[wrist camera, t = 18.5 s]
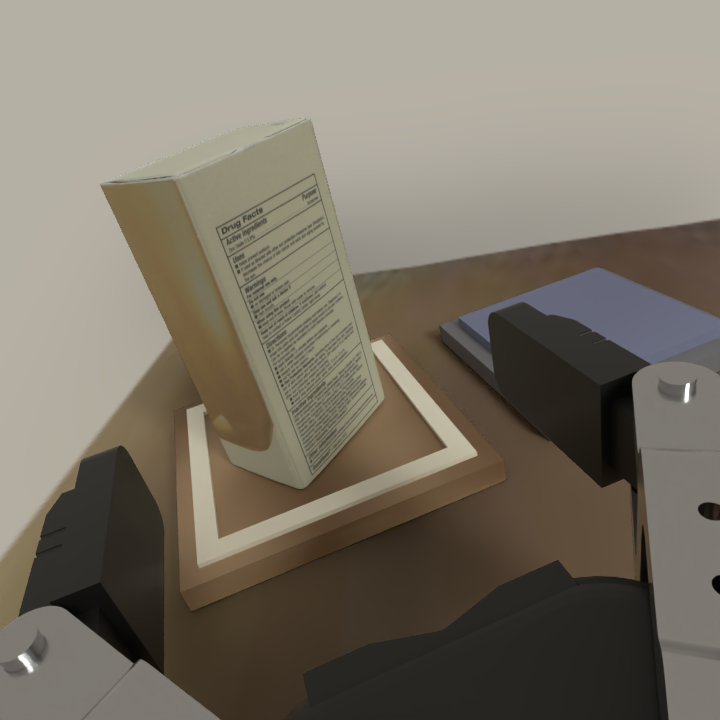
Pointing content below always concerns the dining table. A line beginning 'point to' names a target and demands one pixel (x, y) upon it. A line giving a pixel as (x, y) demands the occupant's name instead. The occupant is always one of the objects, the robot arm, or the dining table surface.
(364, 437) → the marked board
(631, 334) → the ink pad
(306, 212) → the skincare box
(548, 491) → the dining table surface
